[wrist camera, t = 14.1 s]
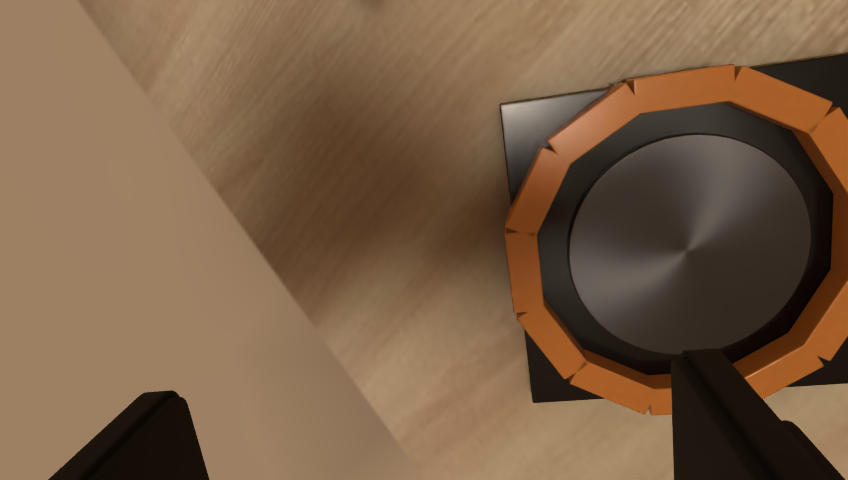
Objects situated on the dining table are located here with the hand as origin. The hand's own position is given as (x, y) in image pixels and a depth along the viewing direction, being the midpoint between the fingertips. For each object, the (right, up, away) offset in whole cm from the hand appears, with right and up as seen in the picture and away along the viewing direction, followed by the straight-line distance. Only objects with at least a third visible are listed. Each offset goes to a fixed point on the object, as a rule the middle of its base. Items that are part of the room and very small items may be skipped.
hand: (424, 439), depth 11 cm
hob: (+13, +4, +18) cm, 22 cm away
